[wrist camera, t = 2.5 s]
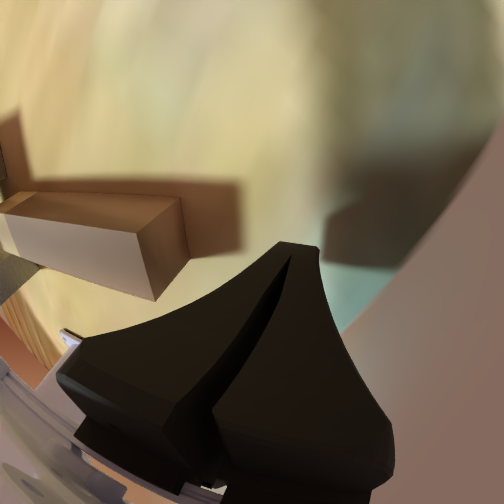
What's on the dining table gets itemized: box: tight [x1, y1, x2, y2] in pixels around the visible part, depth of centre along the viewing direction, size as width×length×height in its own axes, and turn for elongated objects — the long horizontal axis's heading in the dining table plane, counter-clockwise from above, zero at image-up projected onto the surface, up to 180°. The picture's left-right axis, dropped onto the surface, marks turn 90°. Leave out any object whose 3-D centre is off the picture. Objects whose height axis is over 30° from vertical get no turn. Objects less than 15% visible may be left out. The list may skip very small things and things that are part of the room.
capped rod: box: [0, 192, 190, 302], centre depth 13 cm, size 3×14×3 cm, turn 92°
